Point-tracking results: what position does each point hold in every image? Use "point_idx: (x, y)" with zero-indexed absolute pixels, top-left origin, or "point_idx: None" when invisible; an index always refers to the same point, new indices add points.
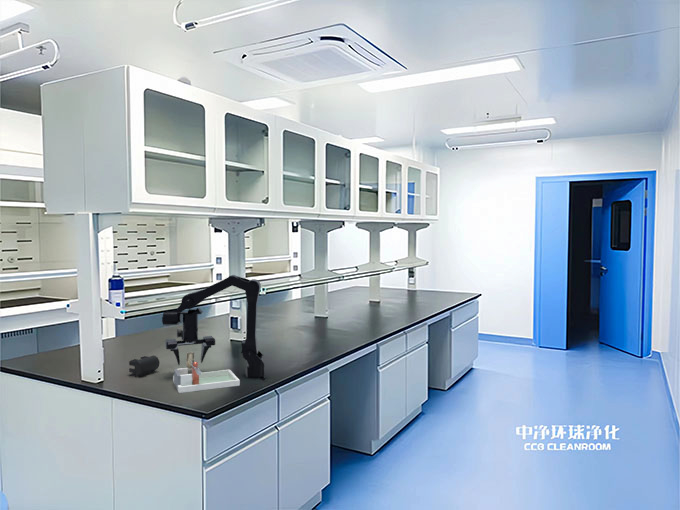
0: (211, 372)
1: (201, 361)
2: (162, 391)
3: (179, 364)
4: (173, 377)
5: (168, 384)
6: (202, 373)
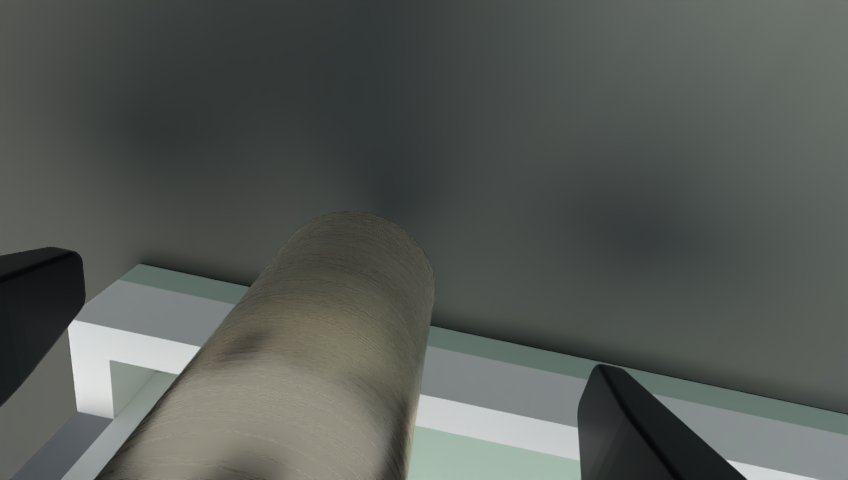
0: None
1: (583, 449)
2: (22, 440)
3: (71, 318)
4: (81, 358)
5: (84, 271)
6: (498, 436)
